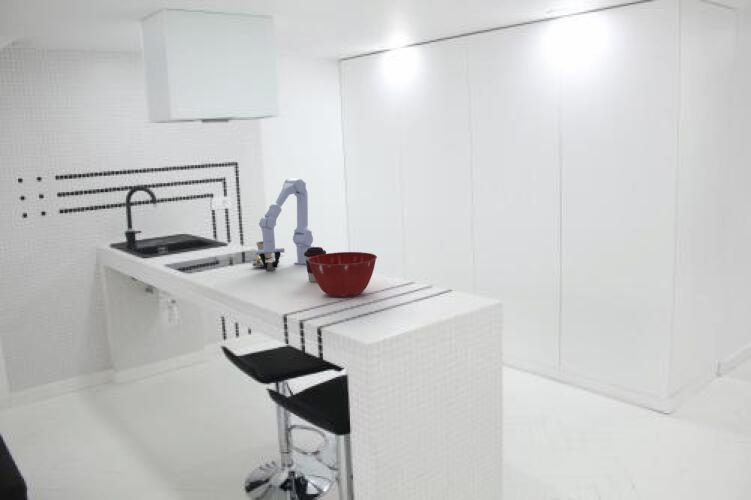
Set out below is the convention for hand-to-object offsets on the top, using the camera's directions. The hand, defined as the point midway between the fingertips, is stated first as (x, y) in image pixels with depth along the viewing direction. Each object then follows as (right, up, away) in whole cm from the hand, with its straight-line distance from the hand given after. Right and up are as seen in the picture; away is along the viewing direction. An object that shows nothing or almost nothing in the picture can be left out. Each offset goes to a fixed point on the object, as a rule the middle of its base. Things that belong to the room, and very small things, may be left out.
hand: (270, 267), depth 333 cm
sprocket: (-4, +2, +10) cm, 11 cm away
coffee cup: (+25, -5, -27) cm, 38 cm away
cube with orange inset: (0, -1, 0) cm, 1 cm away
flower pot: (-8, +4, +34) cm, 36 cm away
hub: (-4, 0, +10) cm, 11 cm away
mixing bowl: (+39, -10, -54) cm, 67 cm away
